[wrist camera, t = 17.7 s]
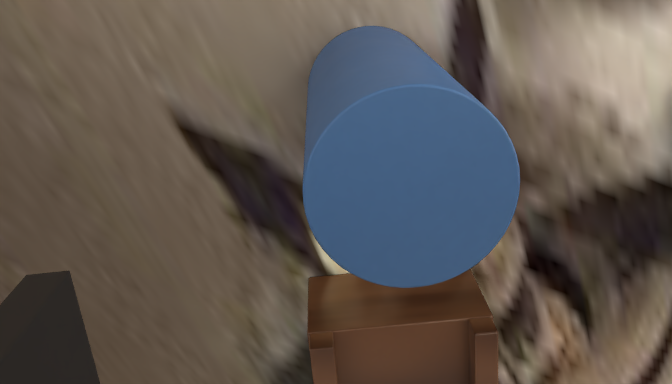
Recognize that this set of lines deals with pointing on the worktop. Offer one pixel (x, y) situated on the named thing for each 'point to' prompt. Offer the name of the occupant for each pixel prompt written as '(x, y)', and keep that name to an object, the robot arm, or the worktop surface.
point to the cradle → (400, 332)
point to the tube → (402, 163)
